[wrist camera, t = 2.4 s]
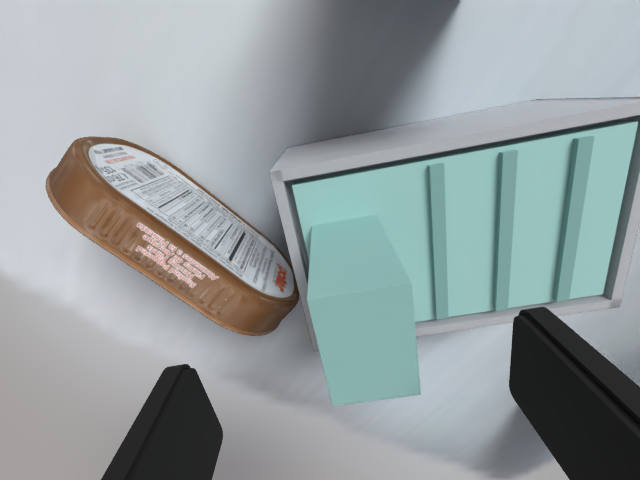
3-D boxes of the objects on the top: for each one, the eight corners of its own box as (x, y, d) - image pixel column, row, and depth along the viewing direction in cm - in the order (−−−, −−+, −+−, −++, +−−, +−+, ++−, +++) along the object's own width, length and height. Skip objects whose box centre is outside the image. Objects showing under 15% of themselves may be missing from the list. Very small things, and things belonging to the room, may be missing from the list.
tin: (110, 157, 21) (-12, 189, 13) (133, 120, 20) (16, 131, 12) (283, 286, 25) (267, 368, 17) (309, 260, 24) (305, 334, 16)
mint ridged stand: (620, 120, 13) (881, 134, 7) (590, 285, 17) (751, 393, 10) (293, 181, 14) (272, 240, 8) (325, 325, 18) (328, 445, 12)
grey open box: (537, 99, 19) (669, 96, 12) (525, 243, 23) (619, 306, 16) (287, 147, 21) (268, 171, 13) (315, 277, 25) (313, 351, 17)
